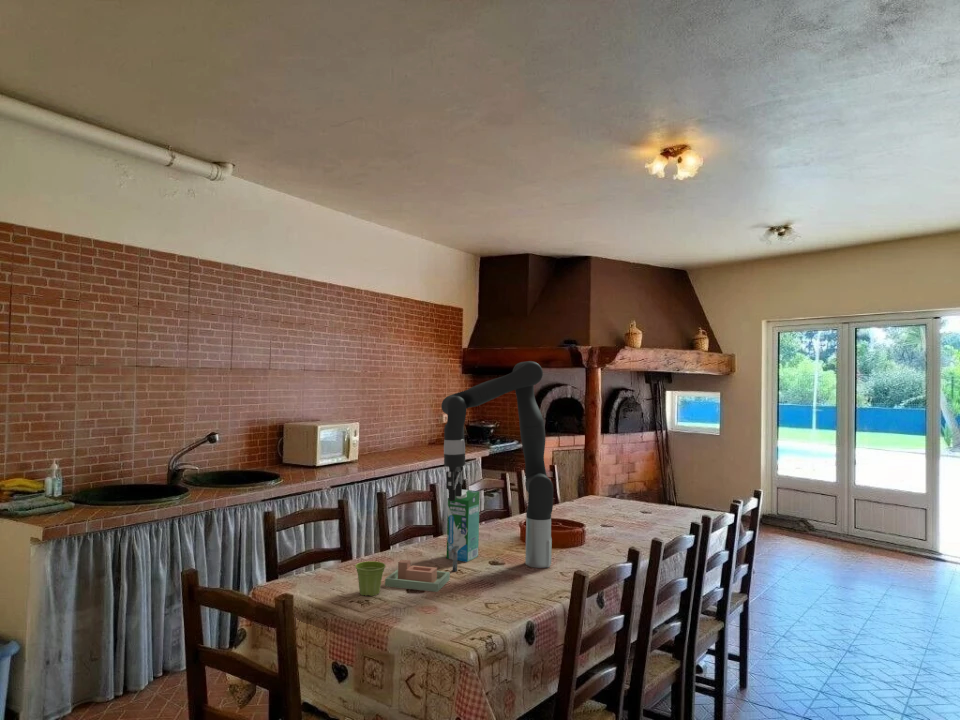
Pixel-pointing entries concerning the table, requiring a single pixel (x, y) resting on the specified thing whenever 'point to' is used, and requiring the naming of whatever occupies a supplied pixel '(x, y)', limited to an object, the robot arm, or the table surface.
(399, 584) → the tray
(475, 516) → the milk carton
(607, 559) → the table surface
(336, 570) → the table surface
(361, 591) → the plant pot
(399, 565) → the collar
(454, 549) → the hammer
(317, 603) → the table surface
